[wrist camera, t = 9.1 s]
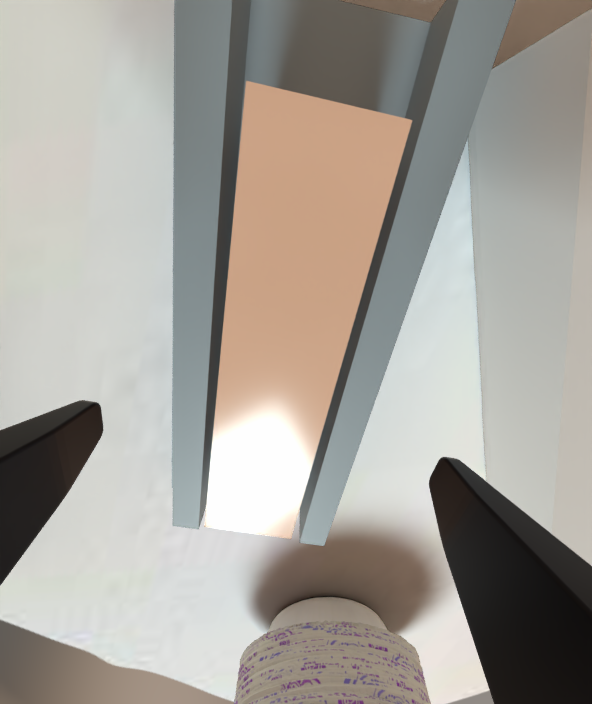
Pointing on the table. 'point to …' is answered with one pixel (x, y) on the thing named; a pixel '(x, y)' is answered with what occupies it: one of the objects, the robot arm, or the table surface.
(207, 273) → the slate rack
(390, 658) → the white purple speckled bowl
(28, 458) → the robot arm
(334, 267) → the clay strip
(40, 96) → the table surface
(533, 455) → the light grey long wedge
